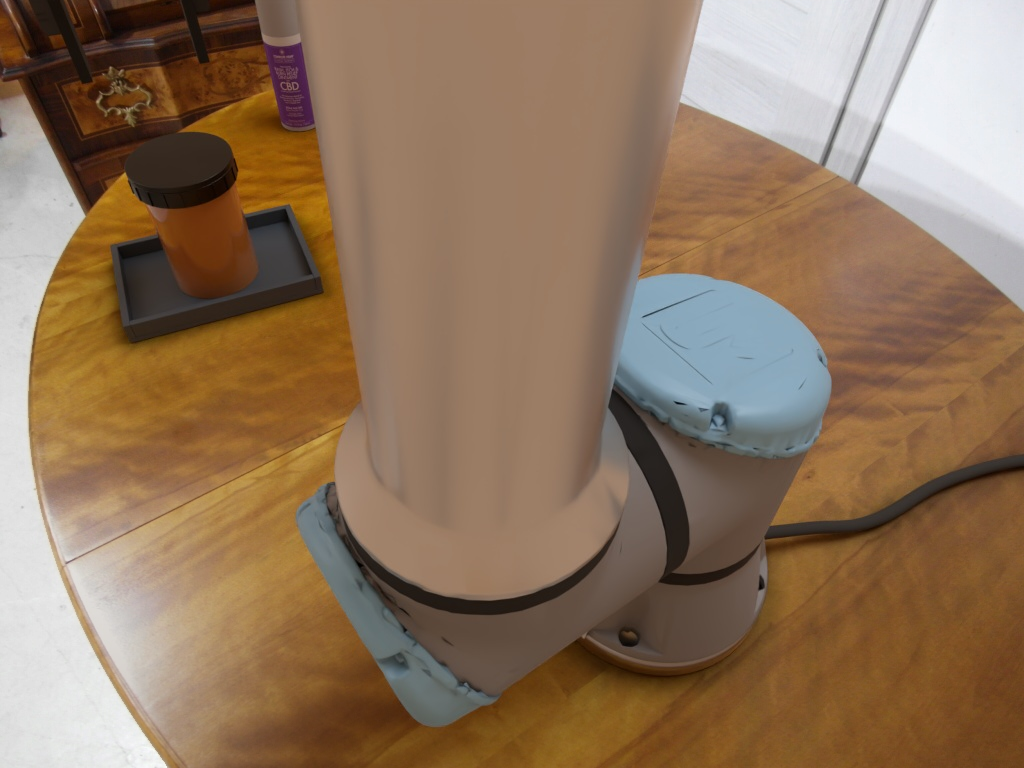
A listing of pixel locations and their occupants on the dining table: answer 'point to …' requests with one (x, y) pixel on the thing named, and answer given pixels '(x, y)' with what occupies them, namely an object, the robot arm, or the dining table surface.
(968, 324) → the dining table surface
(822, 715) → the dining table surface
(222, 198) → the jar
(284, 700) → the dining table surface
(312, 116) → the container
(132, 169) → the jar lid
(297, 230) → the tray
